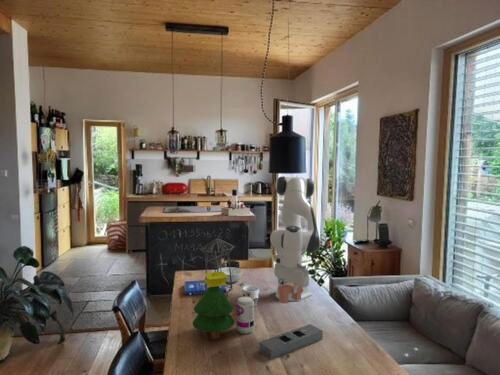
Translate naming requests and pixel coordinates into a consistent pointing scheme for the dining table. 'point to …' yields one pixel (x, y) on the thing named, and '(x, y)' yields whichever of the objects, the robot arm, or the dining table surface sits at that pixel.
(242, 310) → the supplement can
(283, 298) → the pink notched block
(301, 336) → the rail
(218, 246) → the geometric lantern
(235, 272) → the cereal bowl
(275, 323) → the dining table surface
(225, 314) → the decorative tree
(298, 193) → the robot arm
